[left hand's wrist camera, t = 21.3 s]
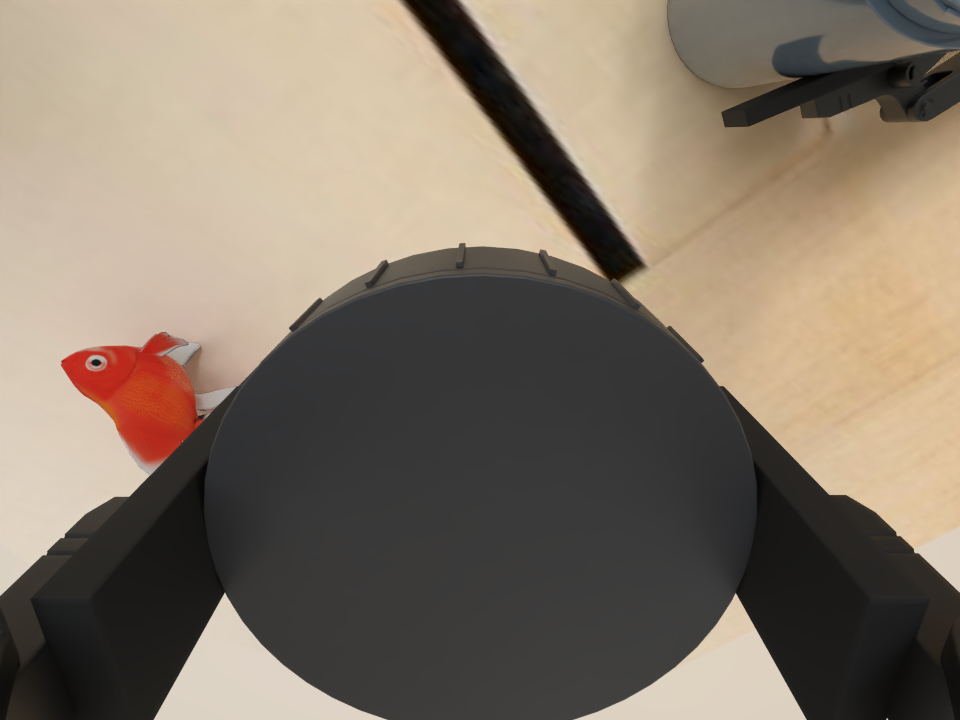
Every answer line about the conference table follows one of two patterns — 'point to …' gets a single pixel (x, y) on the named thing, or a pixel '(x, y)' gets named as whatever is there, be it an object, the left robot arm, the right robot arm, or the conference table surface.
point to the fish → (144, 394)
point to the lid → (480, 492)
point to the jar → (805, 36)
